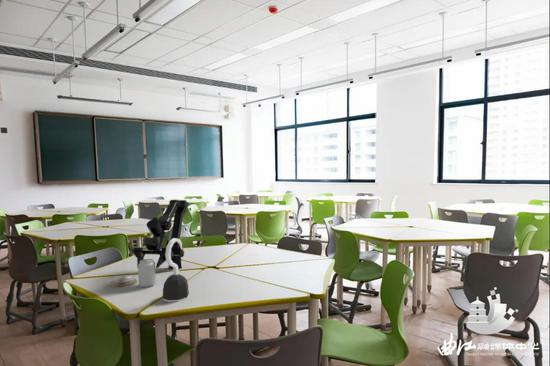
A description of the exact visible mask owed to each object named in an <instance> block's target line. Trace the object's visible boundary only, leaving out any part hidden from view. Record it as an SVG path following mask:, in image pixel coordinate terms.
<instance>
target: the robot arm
mask: <svg viewBox="0 0 550 366" xmlns="http://www.w3.org/2000/svg"><path fill="white" fill-rule="evenodd" d="M188 208H189V202H188V201H187V200H186V199H170V200H169V203H168V206H167V207H166V209H165V211H164V212H163V215H161V216H159V217H152V219H150V220H149V221H147V222H146V227H147V229H148V230H149V232H150V234H151V235H152V237H144V239H143V246H144V245H145V248H146V249H144V248H143V247H142V246H134V247H133V249H132V251H131V252H132V254H133V255H134V256H135V258H136V259H137V260H136V263H137V264H136V267H137V268H138V264H139V263H140V261H141V260H144V259H145V258H144V257H145V256H146V255H158V256H159V258H158V260H157V263H156V264H155V269H158V268H159V267H160V266H161V265H163V264H164V263H165V262H166V256H165V254H166V247H167V245H168V243H169V241H170V240H172V239H173V238H177V239H180V238H181V232H182V226H183V219H184V215H185V214H186V213H187V211H188ZM172 219H173V224H172ZM171 228H172V229H171ZM170 230H171V236H170V239H169V240H167V241H166V246H165V247H164V241H165V239H167V233H166V231H170ZM180 240H181V239H180ZM184 255H185V250H184V249H183V248H182V250H181V247H180V245H179V243H178V242H177V241H176V242H175V243H174V244H173V246H172V248H171V260H172V261H173V263H175V264H177V265H178V269H182V258H183V257H185V256H184ZM168 268H169V270H173V267H172V266H169V265H168Z"/></svg>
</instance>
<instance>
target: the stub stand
mask: <svg viewBox="0 0 550 366" xmlns="http://www.w3.org/2000/svg"><path fill="white" fill-rule="evenodd" d="M137 283H138V279H137V278H133V276H131V275H123V276H117V277H115V278H114V280H112V281H110V282H109V286H110V287H113V288H124V287H130V286H132V285H133V286H134V285H135V284H137Z"/></svg>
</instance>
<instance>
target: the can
mask: <svg viewBox="0 0 550 366" xmlns="http://www.w3.org/2000/svg"><path fill="white" fill-rule="evenodd" d="M137 270H138V271H137V272H138V273H137V275H138V286H139V287H141V288H150V287H153V286H154V285H155V284H156V283H157V282H156V281H157V280H156V262H155V261H154V259H153V258H146V259H145V258H144V260H141V261H140V263H139V264H138V267H137Z"/></svg>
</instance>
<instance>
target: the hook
mask: <svg viewBox="0 0 550 366" xmlns="http://www.w3.org/2000/svg"><path fill="white" fill-rule="evenodd" d="M169 240H170V239H169ZM176 241H177V242H178V243H179V245H180V247H181V250H182V249H183V242H182V241H181V239H177V238H173V239H172V240H170V241H169V243H168V245H167V244H166V245H167V247H166V246H165V247H166V254H165V256H166V261H165V262H166V264H167V265H168V267H169V266H172V267H173V269H172V270H173V272H172V273H173V274H171V275H169V276H167V278H166V280H165V281H164V283H163V288H162V301H165V302H169V303H171V302H173V303H174V302H181V301H184V300H186V299H188V298H189V296H190V295H189V294H190V291H189V283H188V279H187V278H186V277H185V276H184V275H182V274H179V268H178V265H177V264H175V263H173V261H172V260H171V248H172V246H173V244H174V243H175V242H176Z"/></svg>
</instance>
